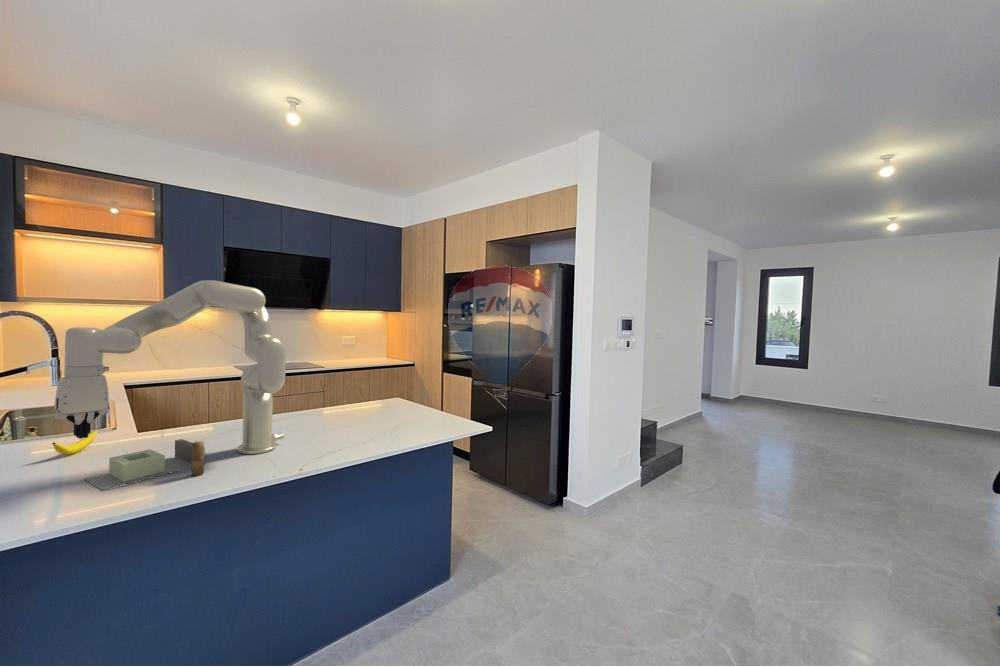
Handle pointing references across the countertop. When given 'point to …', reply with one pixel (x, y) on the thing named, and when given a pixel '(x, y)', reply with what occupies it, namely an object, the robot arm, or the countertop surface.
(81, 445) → the banana
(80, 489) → the countertop surface
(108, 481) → the grey l-shaped plate
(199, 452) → the dowel
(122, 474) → the socket block
